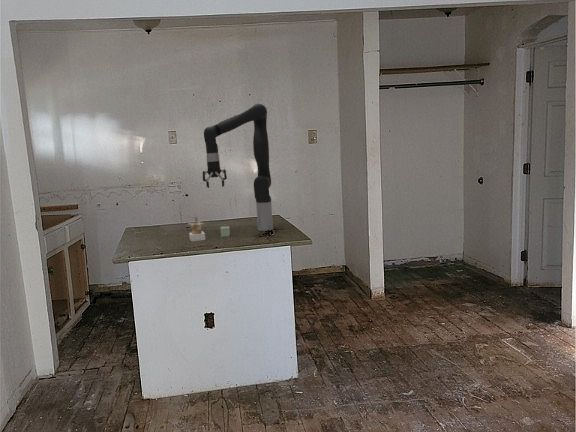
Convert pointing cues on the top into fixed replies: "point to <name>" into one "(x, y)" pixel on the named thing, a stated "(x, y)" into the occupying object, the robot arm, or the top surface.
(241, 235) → the top surface
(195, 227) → the oak block
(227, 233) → the sage block
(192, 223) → the pipe connector
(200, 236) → the white base
